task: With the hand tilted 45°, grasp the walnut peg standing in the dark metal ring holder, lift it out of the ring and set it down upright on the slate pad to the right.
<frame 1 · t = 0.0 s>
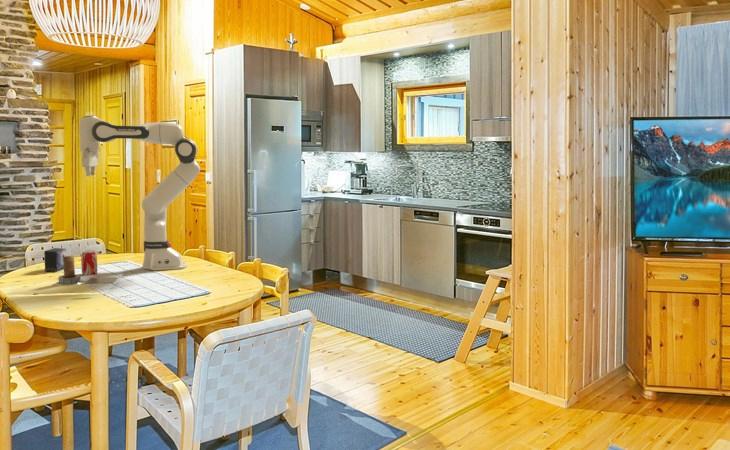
hand: (90, 175, 319), 48 cm above the table, tool pointing down, fingers open, 8 cm apart
peg: (69, 282, 287), point 1 cm above the table, touching ring stand
small box: (56, 270, 322), on the table
ring stand: (69, 284, 287), on the table
soda can: (89, 276, 308), on the table
pad: (101, 282, 292), on the table
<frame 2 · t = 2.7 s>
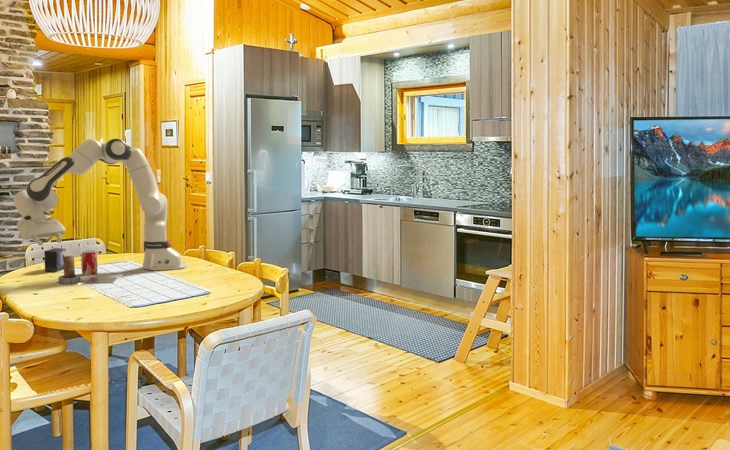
hand: (50, 243, 290), 18 cm above the table, tool tilted 45°, fingers open, 8 cm apart
nothing on the table moved.
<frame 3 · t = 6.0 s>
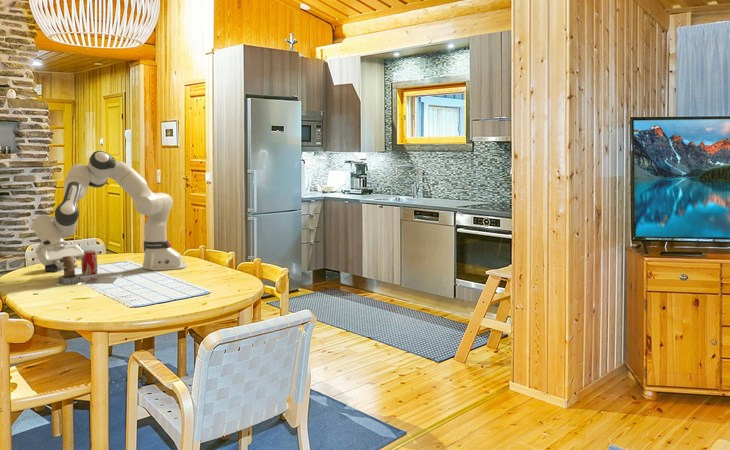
hand: (70, 268, 286), 8 cm above the table, tool tilted 45°, fingers closed on peg, 4 cm apart
peg: (69, 282, 287), point 1 cm above the table, touching gripper, ring stand
everything else where it was.
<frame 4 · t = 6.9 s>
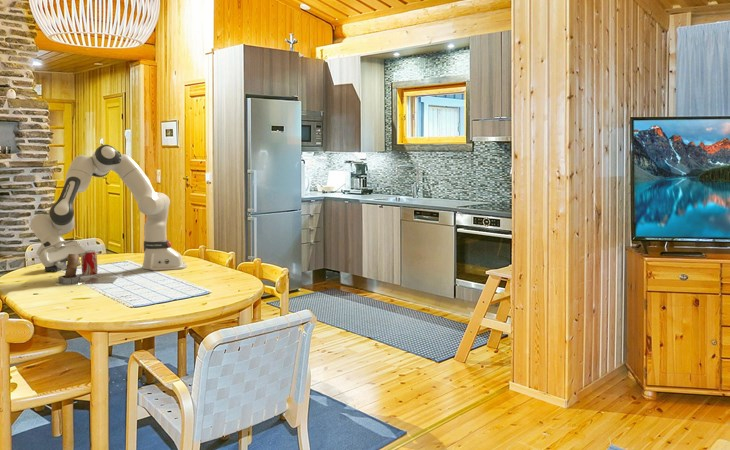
hand: (72, 267, 288), 8 cm above the table, tool tilted 45°, fingers closed on peg, 6 cm apart
peg: (69, 280, 286), point 2 cm above the table, tilted 21°, touching gripper, ring stand
everything else where it was.
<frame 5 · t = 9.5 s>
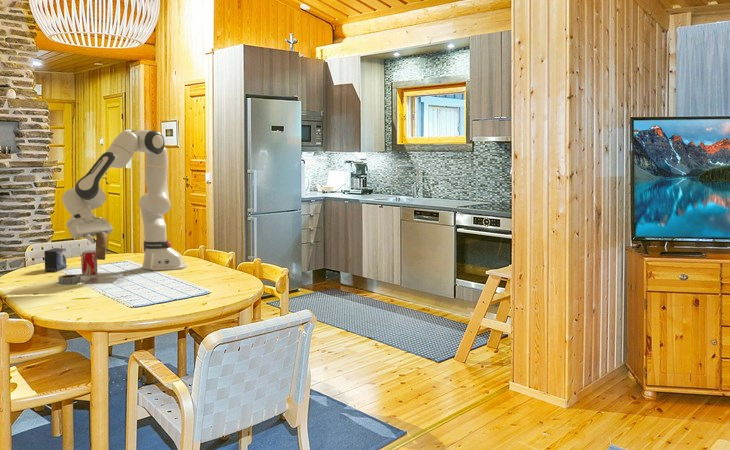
hand: (99, 241, 289), 19 cm above the table, tool tilted 45°, fingers closed on peg, 4 cm apart
peg: (99, 259, 289), point 11 cm above the table, tilted 8°, touching gripper
everything else where it was.
when the fingers open (9 cm above the table, at t = 11.6 s): peg stays where it is, resting on pad.
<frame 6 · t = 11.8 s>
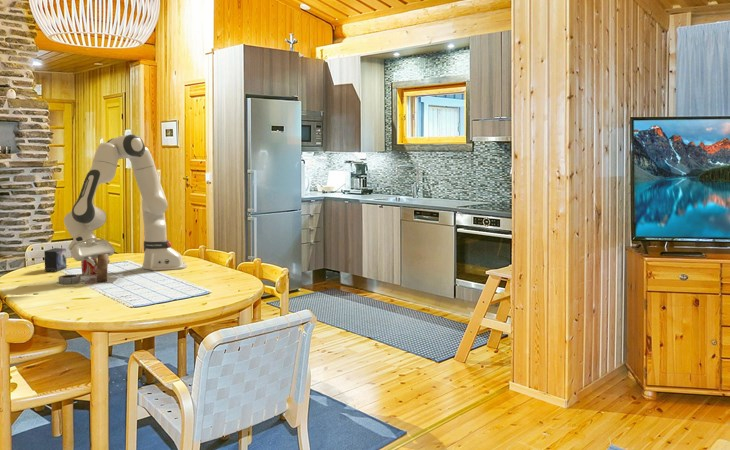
hand: (101, 263, 291), 9 cm above the table, tool tilted 45°, fingers open, 6 cm apart
peg: (101, 280, 290), point 1 cm above the table, touching gripper, pad
everything else where it was.
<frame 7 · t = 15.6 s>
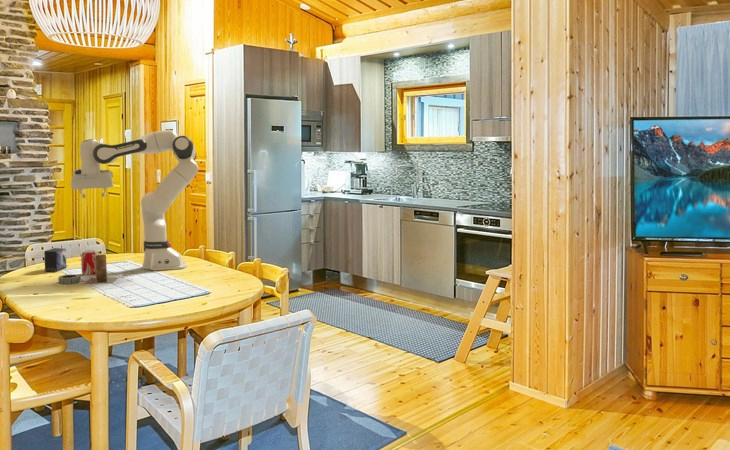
hand: (93, 197, 331), 36 cm above the table, tool pointing down, fingers open, 8 cm apart
peg: (101, 281, 290), point 1 cm above the table, touching pad
everything else where it was.
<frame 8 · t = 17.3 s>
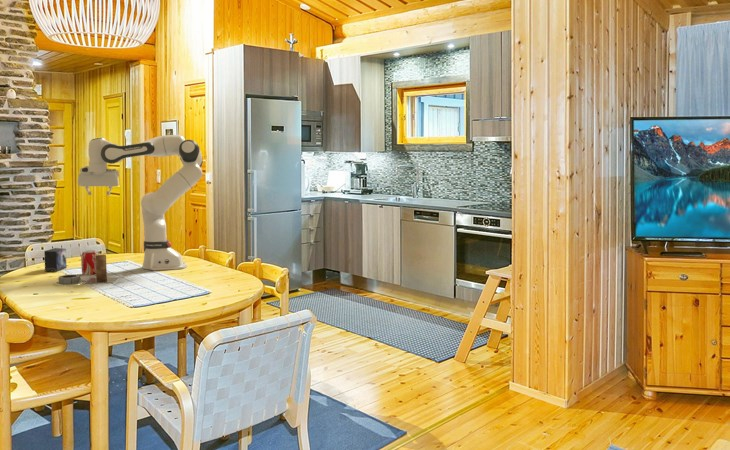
hand: (99, 194, 335), 37 cm above the table, tool pointing down, fingers open, 8 cm apart
nothing on the table moved.
at the end: peg inside the target area on the pad (2.3 cm from its centre), point 1.2 cm above the pad's base; peg tilted 0°; the gripper is holding nothing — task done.
